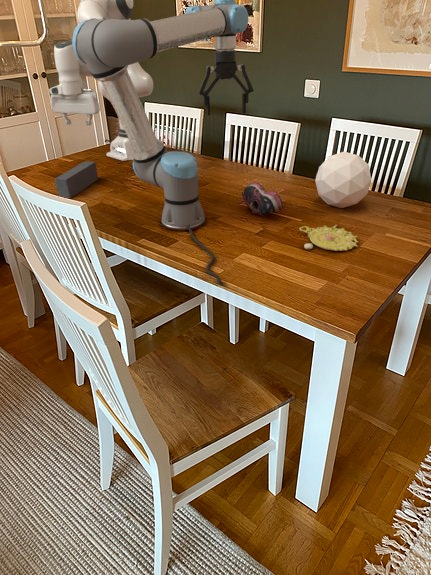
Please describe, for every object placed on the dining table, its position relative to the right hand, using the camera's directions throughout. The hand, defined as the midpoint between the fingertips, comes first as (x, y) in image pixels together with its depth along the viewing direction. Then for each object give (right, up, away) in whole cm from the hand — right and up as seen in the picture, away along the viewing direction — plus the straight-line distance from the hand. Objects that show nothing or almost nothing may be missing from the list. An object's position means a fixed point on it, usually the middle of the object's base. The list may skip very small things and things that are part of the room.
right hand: (226, 113), depth 167 cm
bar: (-62, -23, +22) cm, 70 cm away
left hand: (-61, +2, +16) cm, 63 cm away
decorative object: (+32, -51, -26) cm, 65 cm away
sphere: (+42, -35, -2) cm, 55 cm away
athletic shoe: (+11, -38, -5) cm, 40 cm away
